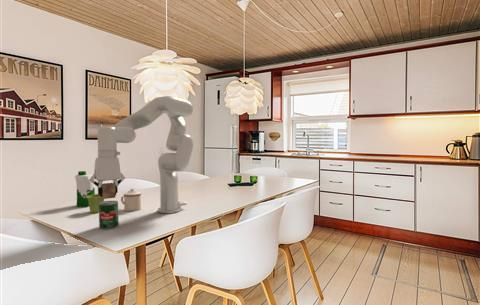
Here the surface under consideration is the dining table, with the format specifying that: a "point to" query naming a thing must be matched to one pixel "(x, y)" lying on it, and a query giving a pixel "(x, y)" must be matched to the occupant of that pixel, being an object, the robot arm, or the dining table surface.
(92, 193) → the milk carton
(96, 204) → the plant pot
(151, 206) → the dining table surface
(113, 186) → the walnut block
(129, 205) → the teacup with lid
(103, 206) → the canned tomato
